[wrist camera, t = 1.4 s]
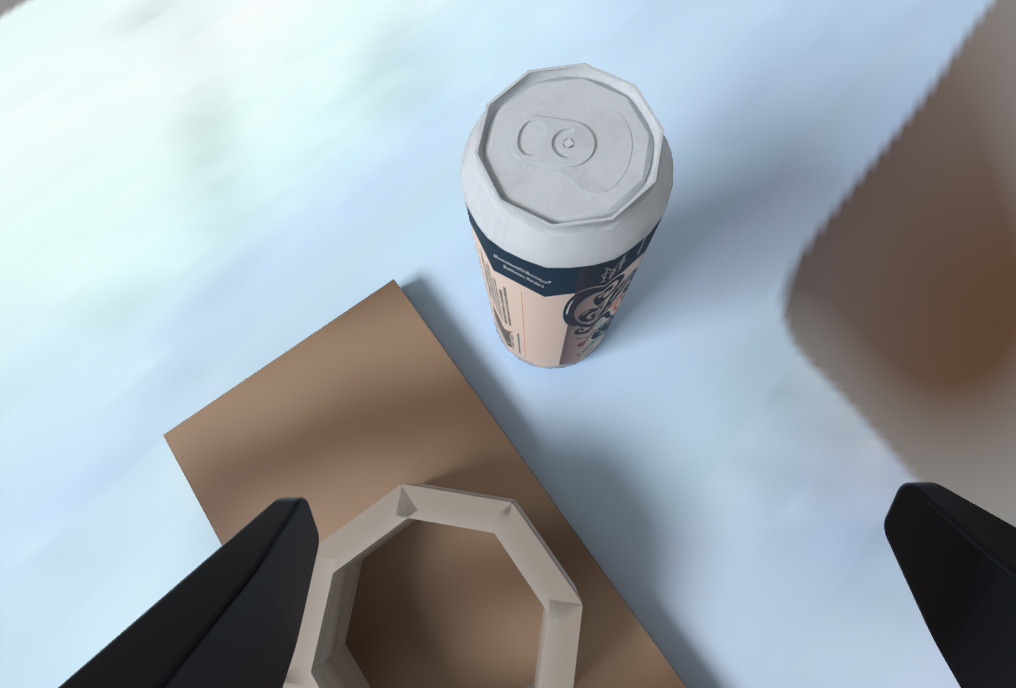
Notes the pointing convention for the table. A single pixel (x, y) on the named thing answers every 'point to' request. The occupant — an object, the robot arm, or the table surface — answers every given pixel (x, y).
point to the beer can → (563, 205)
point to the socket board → (411, 520)
